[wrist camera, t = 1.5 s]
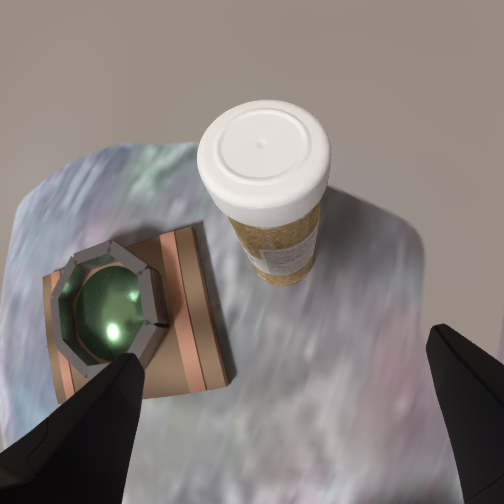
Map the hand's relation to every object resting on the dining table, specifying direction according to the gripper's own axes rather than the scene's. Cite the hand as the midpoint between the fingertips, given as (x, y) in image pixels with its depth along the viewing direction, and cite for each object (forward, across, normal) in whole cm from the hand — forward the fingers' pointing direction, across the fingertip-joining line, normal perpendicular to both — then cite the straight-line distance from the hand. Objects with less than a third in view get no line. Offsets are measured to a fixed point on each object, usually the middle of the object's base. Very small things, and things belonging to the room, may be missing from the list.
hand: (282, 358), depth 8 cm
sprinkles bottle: (+14, 0, +4) cm, 14 cm away
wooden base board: (+10, +13, +7) cm, 19 cm away
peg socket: (+11, +14, +7) cm, 19 cm away
